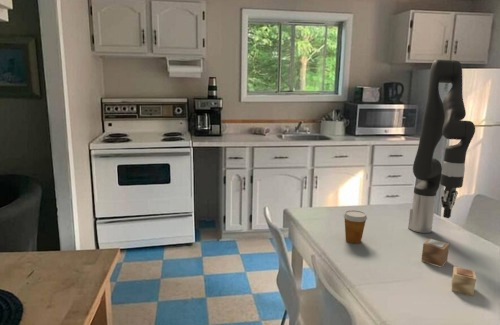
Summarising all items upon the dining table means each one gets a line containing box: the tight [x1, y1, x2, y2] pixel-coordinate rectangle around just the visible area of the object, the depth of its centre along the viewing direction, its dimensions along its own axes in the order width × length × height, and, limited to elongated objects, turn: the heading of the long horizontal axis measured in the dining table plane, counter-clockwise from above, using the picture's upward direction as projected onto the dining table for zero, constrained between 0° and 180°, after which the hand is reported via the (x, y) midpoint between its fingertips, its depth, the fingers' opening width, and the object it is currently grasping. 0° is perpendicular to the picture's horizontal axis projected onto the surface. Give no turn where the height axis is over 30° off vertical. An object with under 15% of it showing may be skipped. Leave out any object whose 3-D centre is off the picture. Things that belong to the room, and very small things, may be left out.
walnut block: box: [421, 238, 450, 268], centre depth 139 cm, size 7×7×7 cm
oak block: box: [451, 266, 477, 297], centre depth 120 cm, size 6×6×6 cm
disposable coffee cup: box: [343, 209, 368, 244], centre depth 157 cm, size 10×10×12 cm
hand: (446, 217), depth 144 cm, fingers closed
